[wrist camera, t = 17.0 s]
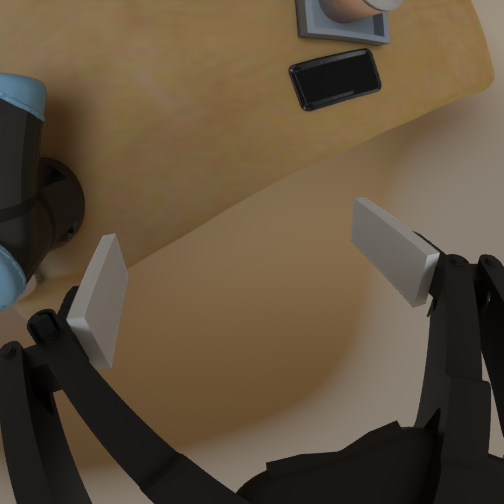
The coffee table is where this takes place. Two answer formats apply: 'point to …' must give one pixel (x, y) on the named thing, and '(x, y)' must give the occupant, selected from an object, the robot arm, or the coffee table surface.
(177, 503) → the robot arm
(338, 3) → the beige round cylinder
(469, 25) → the coffee table surface
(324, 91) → the phone
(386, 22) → the tray
